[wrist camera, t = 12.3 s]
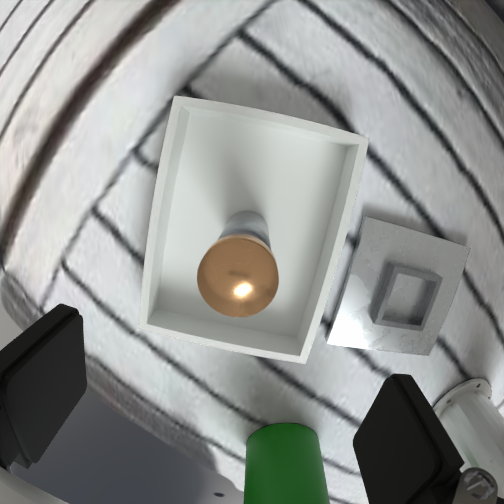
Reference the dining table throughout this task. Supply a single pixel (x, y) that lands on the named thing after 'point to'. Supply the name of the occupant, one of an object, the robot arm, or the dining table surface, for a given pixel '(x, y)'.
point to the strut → (239, 268)
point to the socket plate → (396, 289)
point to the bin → (254, 199)
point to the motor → (284, 466)
